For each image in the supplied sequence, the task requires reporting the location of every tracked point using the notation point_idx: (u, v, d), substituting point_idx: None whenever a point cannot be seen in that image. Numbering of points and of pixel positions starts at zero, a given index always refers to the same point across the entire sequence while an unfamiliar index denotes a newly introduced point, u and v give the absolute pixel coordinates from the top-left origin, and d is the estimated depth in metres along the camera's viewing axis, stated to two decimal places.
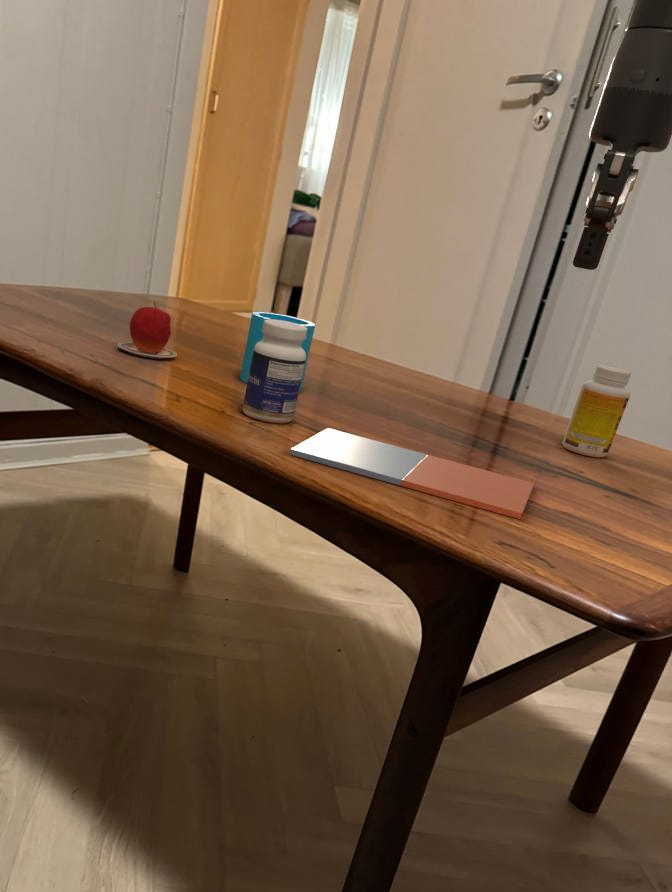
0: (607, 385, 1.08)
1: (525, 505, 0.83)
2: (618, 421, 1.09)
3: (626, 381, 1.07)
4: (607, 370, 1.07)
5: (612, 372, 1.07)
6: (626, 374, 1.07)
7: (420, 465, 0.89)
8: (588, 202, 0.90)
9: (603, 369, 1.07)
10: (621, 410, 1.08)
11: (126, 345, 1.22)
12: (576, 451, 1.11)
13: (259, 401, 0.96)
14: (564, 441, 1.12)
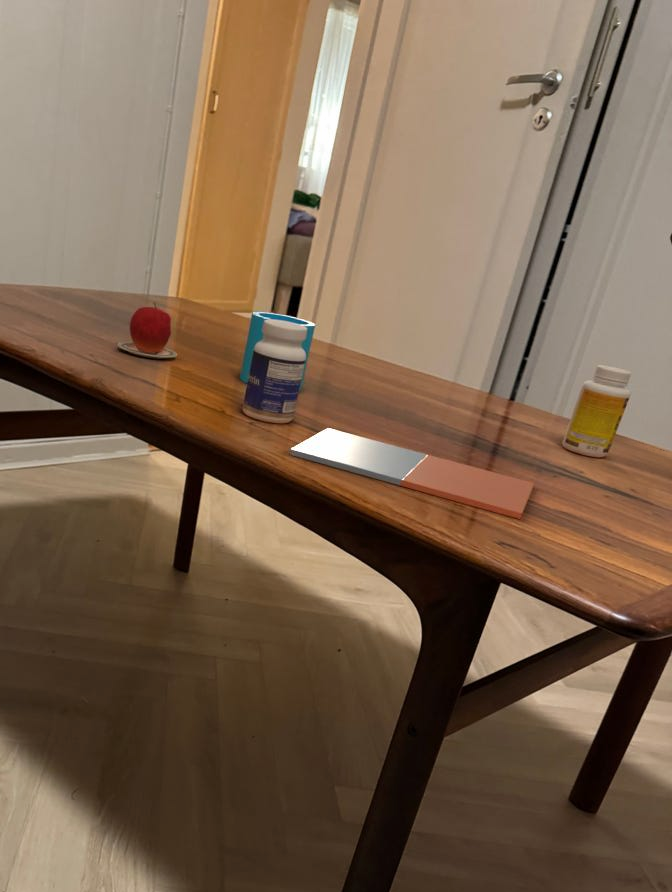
0: (607, 385, 1.08)
1: (525, 505, 0.83)
2: (618, 421, 1.09)
3: (626, 381, 1.07)
4: (607, 370, 1.07)
5: (612, 372, 1.07)
6: (626, 374, 1.07)
7: (420, 465, 0.89)
8: None
9: (603, 369, 1.07)
10: (621, 410, 1.08)
11: (126, 345, 1.22)
12: (576, 451, 1.11)
13: (259, 401, 0.96)
14: (564, 441, 1.12)
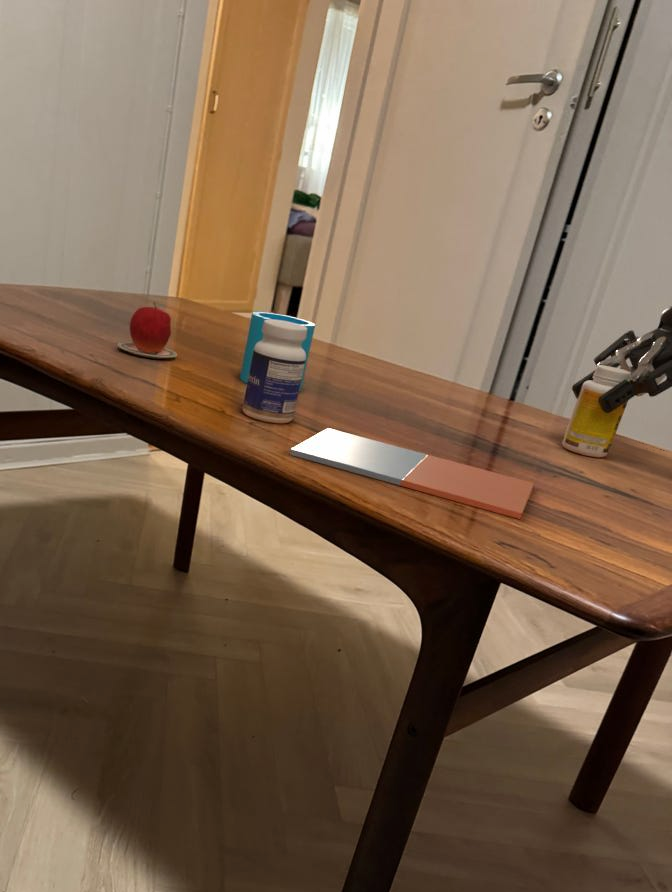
0: (607, 385, 1.08)
1: (525, 505, 0.83)
2: (618, 421, 1.09)
3: None
4: (607, 370, 1.07)
5: (612, 372, 1.07)
6: (626, 374, 1.07)
7: (420, 465, 0.89)
8: None
9: (603, 369, 1.07)
10: (621, 410, 1.08)
11: (126, 345, 1.22)
12: (576, 451, 1.11)
13: (259, 401, 0.96)
14: (564, 441, 1.12)
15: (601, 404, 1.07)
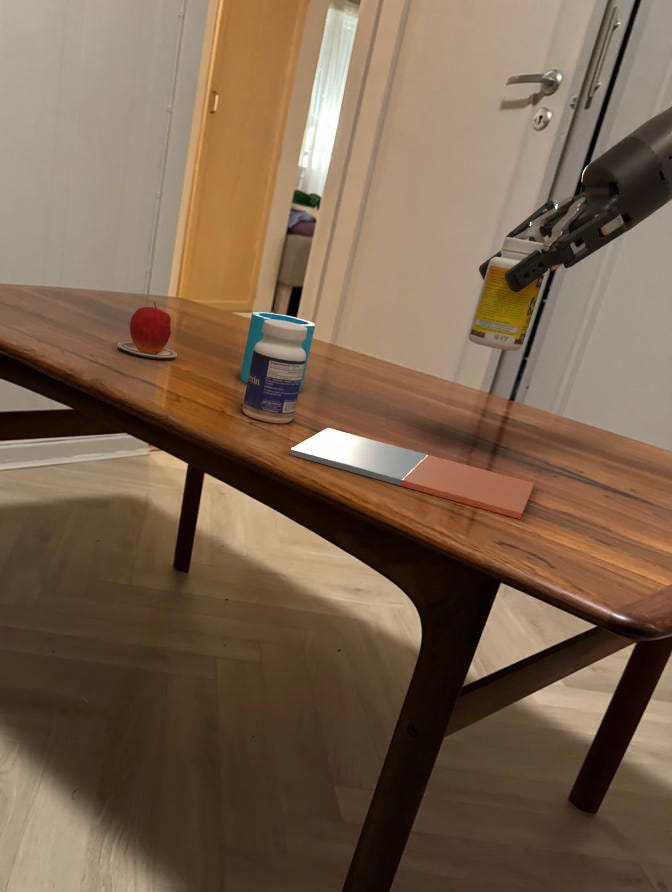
0: (516, 258, 0.89)
1: (525, 505, 0.83)
2: (531, 304, 0.90)
3: None
4: (515, 240, 0.88)
5: (521, 241, 0.88)
6: (538, 244, 0.88)
7: (420, 465, 0.89)
8: None
9: (511, 239, 0.89)
10: (534, 290, 0.89)
11: (126, 345, 1.22)
12: (483, 343, 0.92)
13: (259, 401, 0.96)
14: (470, 333, 0.93)
15: (508, 281, 0.88)
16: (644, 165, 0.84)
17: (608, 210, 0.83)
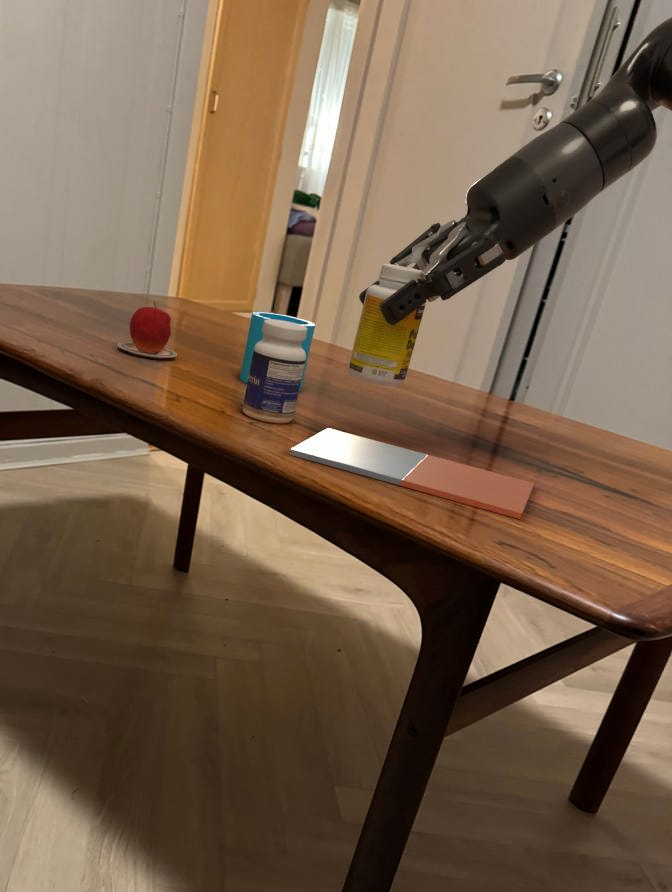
0: (393, 288, 0.82)
1: (525, 505, 0.83)
2: (411, 337, 0.83)
3: None
4: (391, 268, 0.81)
5: (397, 270, 0.81)
6: (416, 273, 0.81)
7: (420, 465, 0.89)
8: None
9: (387, 267, 0.81)
10: (413, 322, 0.82)
11: (126, 345, 1.22)
12: (361, 378, 0.85)
13: (259, 401, 0.96)
14: (349, 367, 0.86)
15: (383, 313, 0.81)
16: (526, 188, 0.77)
17: (485, 238, 0.76)
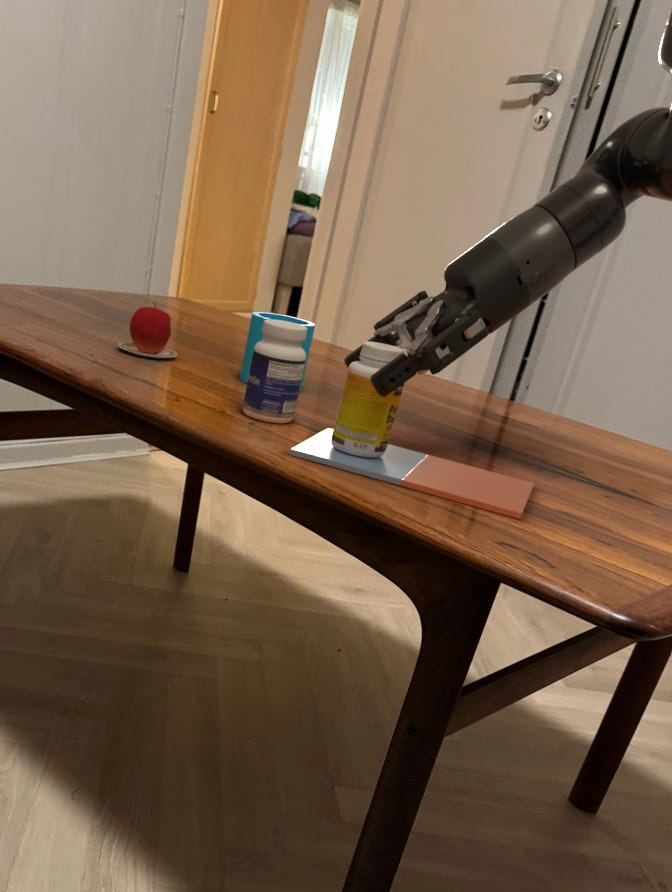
0: (373, 366, 0.85)
1: (525, 505, 0.83)
2: (391, 412, 0.86)
3: None
4: (371, 347, 0.84)
5: (377, 349, 0.84)
6: (395, 352, 0.84)
7: (420, 465, 0.89)
8: None
9: (367, 346, 0.85)
10: (393, 398, 0.86)
11: (126, 345, 1.22)
12: (342, 450, 0.88)
13: (259, 401, 0.96)
14: (331, 438, 0.89)
15: (374, 385, 0.83)
16: (501, 270, 0.80)
17: (469, 313, 0.79)
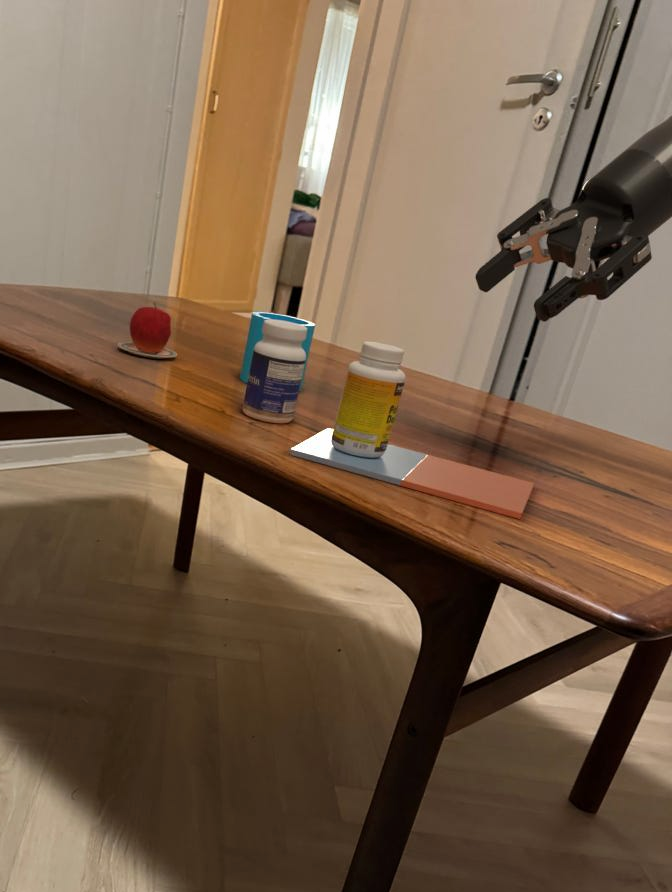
0: (373, 366, 0.85)
1: (525, 505, 0.83)
2: (391, 412, 0.86)
3: (397, 361, 0.85)
4: (371, 347, 0.84)
5: (377, 349, 0.84)
6: (395, 352, 0.84)
7: (420, 465, 0.89)
8: None
9: (367, 346, 0.85)
10: (393, 398, 0.86)
11: (126, 345, 1.22)
12: (342, 450, 0.88)
13: (259, 401, 0.96)
14: (331, 438, 0.89)
15: (538, 310, 0.82)
16: (659, 187, 0.80)
17: (640, 237, 0.79)
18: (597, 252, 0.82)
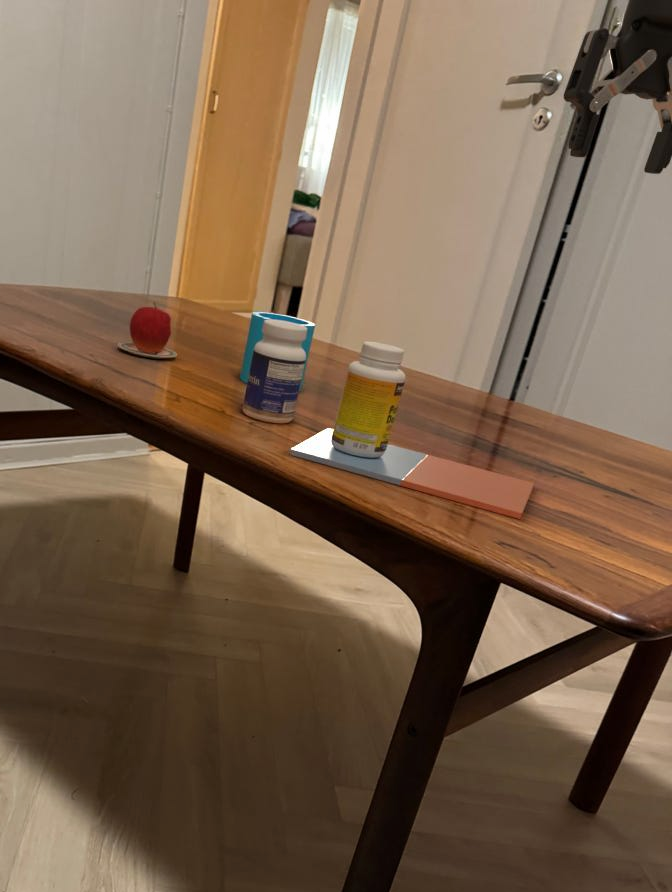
0: (373, 366, 0.85)
1: (525, 505, 0.83)
2: (391, 412, 0.86)
3: (396, 361, 0.85)
4: (371, 347, 0.84)
5: (377, 349, 0.84)
6: (395, 352, 0.84)
7: (420, 465, 0.89)
8: None
9: (367, 346, 0.85)
10: (393, 398, 0.86)
11: (126, 345, 1.22)
12: (342, 450, 0.88)
13: (259, 401, 0.96)
14: (331, 438, 0.89)
15: (655, 173, 0.92)
16: None
17: None
18: None
